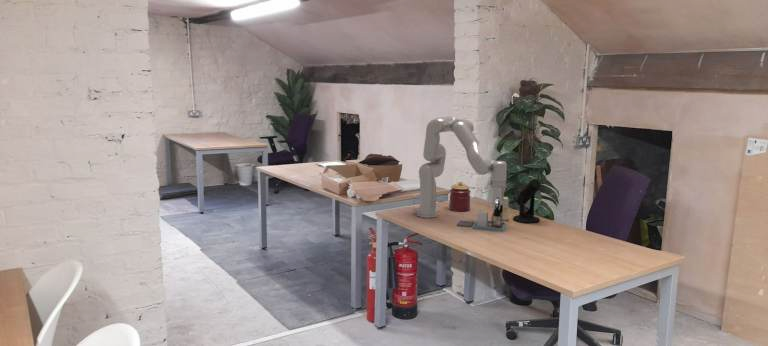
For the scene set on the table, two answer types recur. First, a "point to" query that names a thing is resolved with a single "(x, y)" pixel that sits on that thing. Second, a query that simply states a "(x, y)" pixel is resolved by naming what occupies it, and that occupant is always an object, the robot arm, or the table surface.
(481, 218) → the grey block
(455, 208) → the canister
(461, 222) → the mat
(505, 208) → the supplement box
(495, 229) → the tray
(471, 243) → the table surface
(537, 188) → the microphone
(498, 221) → the walnut block
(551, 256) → the table surface
